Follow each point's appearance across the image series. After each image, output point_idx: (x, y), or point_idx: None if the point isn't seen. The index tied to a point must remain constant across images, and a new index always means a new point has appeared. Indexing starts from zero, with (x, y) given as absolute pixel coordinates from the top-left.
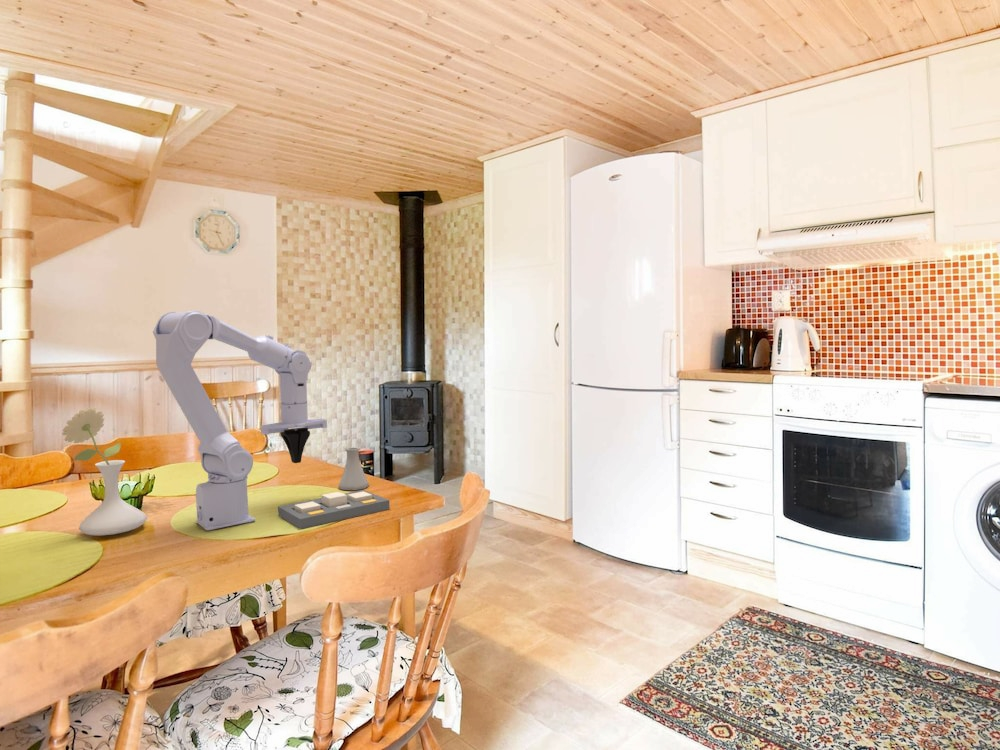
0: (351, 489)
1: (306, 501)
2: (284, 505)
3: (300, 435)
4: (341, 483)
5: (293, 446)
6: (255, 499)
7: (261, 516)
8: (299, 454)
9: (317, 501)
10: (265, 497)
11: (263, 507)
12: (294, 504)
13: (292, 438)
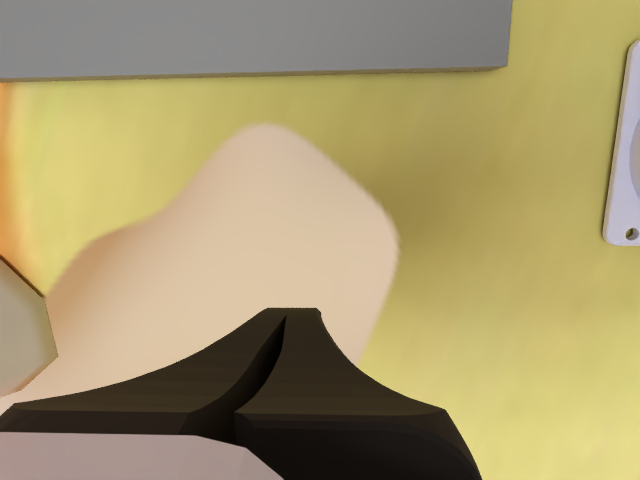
0: (8, 271)
1: (334, 58)
2: (469, 61)
3: (198, 419)
4: (28, 349)
5: (337, 367)
6: None
7: (558, 123)
8: (267, 327)
9: (283, 6)
10: None
11: (479, 279)
12: (416, 38)
13: (371, 406)
